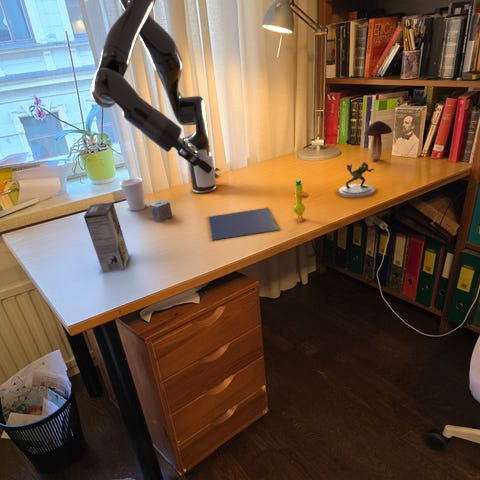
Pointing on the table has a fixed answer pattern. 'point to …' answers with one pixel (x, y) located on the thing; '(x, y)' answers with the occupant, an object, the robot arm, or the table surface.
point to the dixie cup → (133, 193)
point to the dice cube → (161, 210)
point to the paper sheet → (242, 224)
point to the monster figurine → (357, 189)
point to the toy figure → (299, 200)
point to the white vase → (201, 176)
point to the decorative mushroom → (377, 137)
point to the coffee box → (107, 236)
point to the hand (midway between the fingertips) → (209, 167)
